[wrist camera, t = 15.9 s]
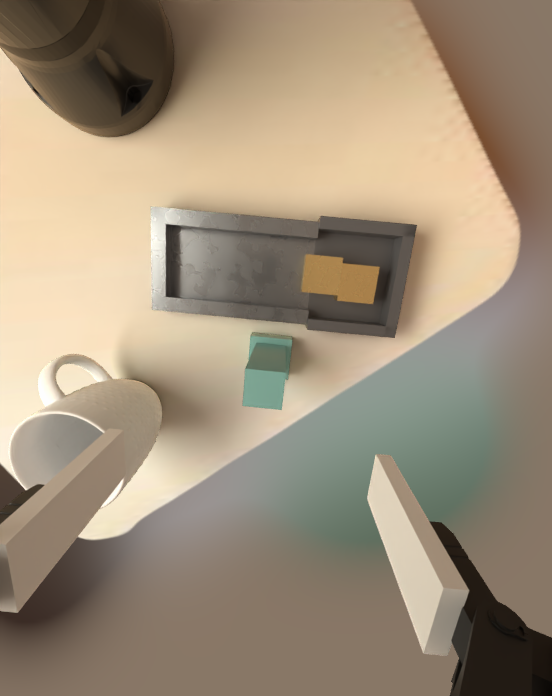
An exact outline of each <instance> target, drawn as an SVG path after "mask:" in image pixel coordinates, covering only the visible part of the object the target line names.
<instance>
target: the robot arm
mask: <svg viewBox="0 0 552 696" xmlns="http://www.w3.org/2000/svg"><path fill="white" fill-rule="evenodd" d="M0 48H1V49H2V50H3V51H4V53H5V54H6V55H7V57H8V58H9V59H10V60H11V61H12V62H13V63H14V65H16V66H17V67H18V69H19V70H20V72H21V74H22V76H23V77H24V79H25V81H26V82H27V83H28V85H29V86H30V88H31V89H32V90H33V91H34V93H35V94H36V95H37V96H38V97H39V99H40V100H41V101H42V102H43V103H44V104H45V105H46V106H48V107H49V108H50V109H51V110H52V111H53V112H55V113H56V114H57V115H59V116H60V117H62V118H63V119H64V120H66V121H67V122H69V123H70V124H72V125H73V126H75V127H77V128H78V129H80V130H82V131H85V132H87V133H90V134H93V135H98V136H105V137H115V136H121V135H125V134H128V133H131V132H133V131H135V130H137V129H139V128H141V127H142V126H144V125H145V124H146V123H147V122H148V121H150V120H151V119H152V117H153V116H154V115H155V114H156V113H157V111H158V110H159V109H160V107H161V105H162V104H163V102H164V100H165V98H166V96H167V93H168V90H169V87H170V84H171V79H172V74H173V65H174V51H173V41H172V36H171V31H170V27H169V24H168V21H167V18H166V15H165V13H164V11H163V8H162V6H161V4H160V2H159V0H0ZM125 476H126V468H125V445H124V430H120V429H110V428H109V429H108V430H107V431H106V432H105V433H103V434H102V435H101V436H100V437H99V438H98V439H97V440H95V441H94V442H93V443H92V444H91V445H90V446H89V447H88V448H86V449H85V450H84V451H83V452H82V453H81V454H80V455H78V456H77V457H76V458H75V459H74V460H73V461H72V462H70V463H69V464H68V465H67V466H66V467H65V468H64V469H63V470H61V471H60V472H59V473H58V474H57V475H56V476H55V477H53V478H52V479H51V480H50V481H49V482H48V483H47V484H46V485H43V484H37V485H35V486H33V487H31V488H29V489H28V490H26V491H24V492H22V493H21V494H20V495H18V496H17V497H16V498H15V499H14V500H13V501H11V502H10V503H9V505H7V506H5V507H4V508H3V509H2V510H0V611H6V612H16V613H17V612H18V611H19V610H20V609H21V608H22V606H23V605H24V604H25V602H26V601H27V600H28V599H29V597H30V596H31V595H32V594H33V592H34V591H35V590H36V589H37V587H38V586H39V585H40V584H41V582H42V581H43V580H44V578H45V577H46V576H47V575H48V573H49V572H50V571H51V569H52V568H53V567H54V566H55V565H56V563H57V562H58V561H59V559H60V558H61V557H62V556H63V554H64V553H65V552H66V551H67V549H68V548H69V547H70V545H71V544H72V543H73V542H74V540H75V539H76V538H77V537H78V535H79V534H80V533H81V532H82V530H83V529H84V528H85V526H86V525H87V524H88V523H89V521H90V520H91V519H92V518H93V516H94V515H95V514H96V512H97V511H98V510H99V509H100V507H101V506H102V505H103V504H104V502H105V501H106V500H107V499H108V497H109V496H110V495H111V493H112V492H113V491H114V490H115V488H116V487H117V486H118V485H119V483H120V482H121V481H122V480H123V478H124V477H125ZM367 500H368V503H369V505H370V508H371V511H372V514H373V516H374V519H375V522H376V525H377V527H378V530H379V533H380V536H381V538H382V541H383V544H384V546H385V549H386V552H387V555H388V557H389V560H390V563H391V566H392V568H393V571H394V574H395V577H396V579H397V582H398V585H399V588H400V590H401V593H402V596H403V599H404V601H405V604H406V607H407V610H408V612H409V615H410V618H411V621H412V623H413V626H414V629H415V632H416V634H417V637H418V640H419V642H420V645H421V648H422V651H423V653H424V654H433V655H444V656H447V655H448V653H449V649H450V647H451V644H452V643H453V645H454V648H455V650H456V652H457V654H458V657H459V660H458V663H457V666H456V669H455V672H454V675H453V678H452V681H451V682H452V683H453V685H452V689H451V693H450V696H552V638H551V637H549V636H546V635H544V634H541V633H539V632H536V631H534V630H532V629H530V628H528V627H527V626H526V624H525V623H524V622H523V621H522V620H521V618H520V617H519V616H518V615H517V614H516V613H515V612H513V611H512V610H511V609H510V608H508V607H507V606H505V605H503V604H502V603H500V602H498V601H497V600H496V599H495V597H494V596H493V594H492V593H491V591H490V590H489V588H488V587H487V585H486V584H485V582H484V580H483V579H482V577H481V576H480V574H479V573H478V571H477V570H476V568H475V566H474V565H473V563H472V562H471V561H470V560H469V559H468V556H467V554H466V553H465V551H464V549H462V547H461V545H460V543H459V542H458V540H457V539H456V537H455V536H454V534H453V533H452V532H451V531H450V530H449V529H448V528H447V527H446V526H445V525H443V524H442V523H440V522H430V521H429V520H428V519H427V517H426V515H425V514H424V512H423V510H422V508H421V507H420V505H419V503H418V502H417V500H416V498H415V496H414V495H413V493H412V491H411V489H410V488H409V486H408V484H407V483H406V481H405V479H404V477H403V476H402V474H401V472H400V471H399V469H398V467H397V465H396V464H395V462H394V460H393V459H392V457H391V456H390V455H380V454H376V456H375V462H374V466H373V471H372V477H371V482H370V487H369V492H368V497H367Z"/></svg>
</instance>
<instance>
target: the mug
mask: <svg viewBox="0 0 552 696" xmlns="http://www.w3.org/2000/svg"><path fill="white" fill-rule="evenodd" d="M64 364H74V365H77V366H79V367H81V368H83V369H85V370H86V371H88V372H89V373H90V374H91V375H92V376H93V377H94V378H95V379H96V381H97V382H98V383H95V384H91V385H89V386H86V387H83V388H81V389H80V390H77V391H74V392H73V393H71V394H68V395H66V396H65V394H64V393H63V392H62V390H61V389H60V388H59V386H58V384H57V382H56V373H57V371H58V369H59V368H60V367H61V366H62V365H64ZM38 389H39V394H40V397H41V399H42V401H43V403H44V405H45V406H46V407H45V408H43V409H41V410H39V411H38V412H36V413H34V414H32V415H31V416H29V417H28V418H26V419H25V420H23V421H22V422H21V423H20V424H19V425H18V426H17V428H16V429H15V430H14V432H13V434H12V436H11V439H10V443H9V460H10V464H11V467H12V470H13V473H14V475H15V476H16V478H17V480H18V481H19V483H20V484H21V485H22V486H23V488H24V489H25V490H28V489H29V488H31V487H33V486H35V485H37V484H43V485H46V484H47V483H48V482H49V481H50V480H51V479H52V478H53V477H55V476H56V475H57V474H58V473H59V472H60V471H61V470H63V469H64V468H65V467H66V466H67V465H68V464H69V463H70V462H72V461H73V460H74V459H75V458H76V457H77V456H78V455H80V454H81V453H82V452H83V451H84V450H85V449H86V448H88V447H89V446H90V445H91V444H92V443H93V442H94V441H95V440H97V439H98V438H99V437H100V436H101V435H102V434H103V433H105V432H106V431H107V430H108V429H109V428H110V429H120V430H124V445H125V468H126V476H125V477H124V478H123V480H122V481H121V482H120V483H119V485H118V486H117V487H116V488H115V490H114V491H113V492H112V493H111V495H110V496H109V497H108V499H107V500H106V501H105V502H104V504H103V505H102V506H101V507H100V509H101V508H103V507H105V506H107V505H108V504H110V503H111V502H112V501H113V500H114V499H115V498H116V497H117V496H118V495H119V494H120V493H121V491H122V490H123V489H124V487H125V486H126V485H127V483H128V482H129V481H130V480H131V478H132V477H133V475H134V474H135V473H136V472H137V470H138V469H139V467H140V466H141V465H142V464H143V461H144V460H145V459H146V458H147V456H148V454H149V452H150V451H151V449H152V447H153V445H154V443H155V442H156V438H157V436H158V432H159V430H160V425H161V420H162V407H161V403H160V400H159V398H158V396H157V394H156V393H155V392H154V391H153V390H152V389H151V388H150V387H149V386H148V385H146V384H144V383H142V382H139V381H135V380H130V379H112V377H111V376H110V375H109V374H108V373H107V372H106V371H105V369H104V368H103V367H102V366H100V365H99V364H98V363H97V362H95V361H94V360H92V359H91V358H89V357H86V356H84V355H79V354H69V355H64V356H61V357H58V358H56V359H54V360H52V361H51V362H49V363H48V364H47V365H46V366H45V367H44V368H43V370H42V371H41V373H40V376H39V379H38Z"/></svg>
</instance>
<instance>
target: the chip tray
mask: <svg viewBox="0 0 552 696" xmlns="http://www.w3.org/2000/svg"><path fill="white" fill-rule="evenodd" d="M317 222H319V230H318V238H317V239H316V242H315V250H314V255H320V256H331V257H341V258H343V263H345V264H355V265H365V266H376V267H380V268H379V273H378V279H377V285H376V291H375V296H374V302H373V304H366V303H356V302H345V301H337V300H335V299H334V295H328V294H318V293H309V301H308V310H309V314H308V323H307V324H305V326H306V328H307V330H317V331H328V332H338V333H349V334H359V335H370V336H380V337H391V338H395V334H396V329H397V324H398V319H399V314H400V309H401V304H402V299H403V293H404V288H405V283H406V278H407V273H408V268H409V263H410V258H411V253H412V247H413V242H414V237H415V232H416V227H417V225H412V224H401V223H390V222H379V221H369V220H358V219H347V218H336V217H325V216H320V218H319V220H318V221H317Z"/></svg>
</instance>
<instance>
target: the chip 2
mask: <svg viewBox="0 0 552 696" xmlns="http://www.w3.org/2000/svg"><path fill="white" fill-rule="evenodd" d="M379 268H380V267H376V266H365V265H355V264H345V263H342V270H341V277H340V284H339V291H338V295H334V299H335V300H337V301H345V302H356V303H366V304H373V302H374V296H375V291H376V285H377V279H378V273H379Z"/></svg>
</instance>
